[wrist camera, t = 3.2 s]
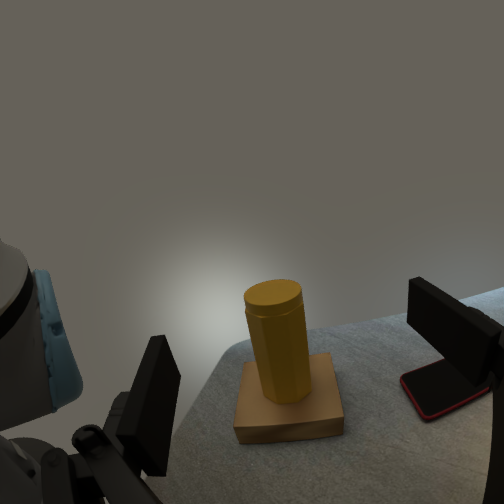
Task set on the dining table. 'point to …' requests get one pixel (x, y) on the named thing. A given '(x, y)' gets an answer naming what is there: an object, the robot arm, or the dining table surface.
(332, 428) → the stand
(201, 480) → the dining table surface
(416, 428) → the dining table surface
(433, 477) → the dining table surface
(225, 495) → the dining table surface
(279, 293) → the jar
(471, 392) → the smartphone
